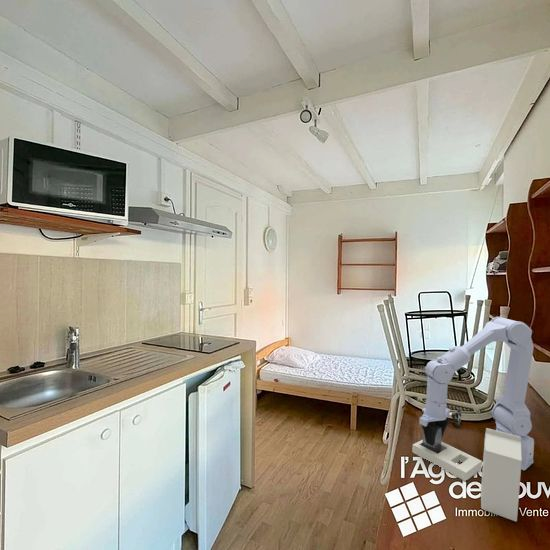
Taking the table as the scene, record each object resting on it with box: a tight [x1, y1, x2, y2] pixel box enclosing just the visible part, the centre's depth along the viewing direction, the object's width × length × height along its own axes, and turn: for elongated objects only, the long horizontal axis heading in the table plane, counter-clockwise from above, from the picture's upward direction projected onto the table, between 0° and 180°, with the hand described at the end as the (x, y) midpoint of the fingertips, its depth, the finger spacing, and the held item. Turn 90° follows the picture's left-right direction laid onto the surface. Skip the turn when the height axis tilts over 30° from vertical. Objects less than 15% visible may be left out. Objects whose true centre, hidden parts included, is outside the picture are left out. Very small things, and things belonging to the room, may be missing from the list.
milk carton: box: [480, 427, 522, 523], centre depth 80 cm, size 7×7×19 cm
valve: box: [447, 407, 463, 427], centre depth 125 cm, size 7×7×12 cm
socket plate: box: [411, 439, 483, 482], centre depth 99 cm, size 16×10×2 cm, turn 35°
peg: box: [421, 424, 443, 454], centre depth 103 cm, size 4×4×8 cm
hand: (433, 441), depth 102 cm, fingers closed on peg, 4 cm apart
